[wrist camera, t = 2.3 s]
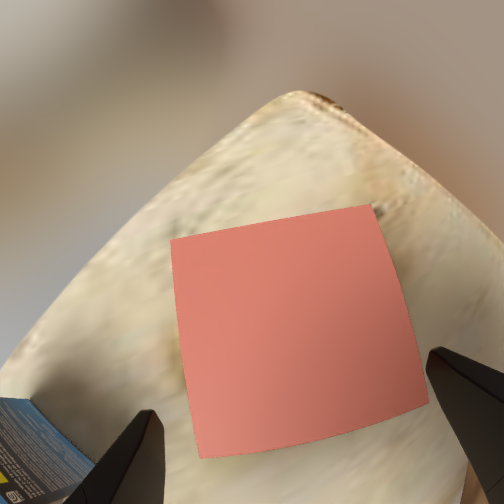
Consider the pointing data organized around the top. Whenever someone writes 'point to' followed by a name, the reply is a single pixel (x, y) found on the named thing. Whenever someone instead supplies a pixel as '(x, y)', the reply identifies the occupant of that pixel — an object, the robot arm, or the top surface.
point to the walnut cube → (472, 489)
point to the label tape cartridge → (36, 457)
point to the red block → (293, 332)
